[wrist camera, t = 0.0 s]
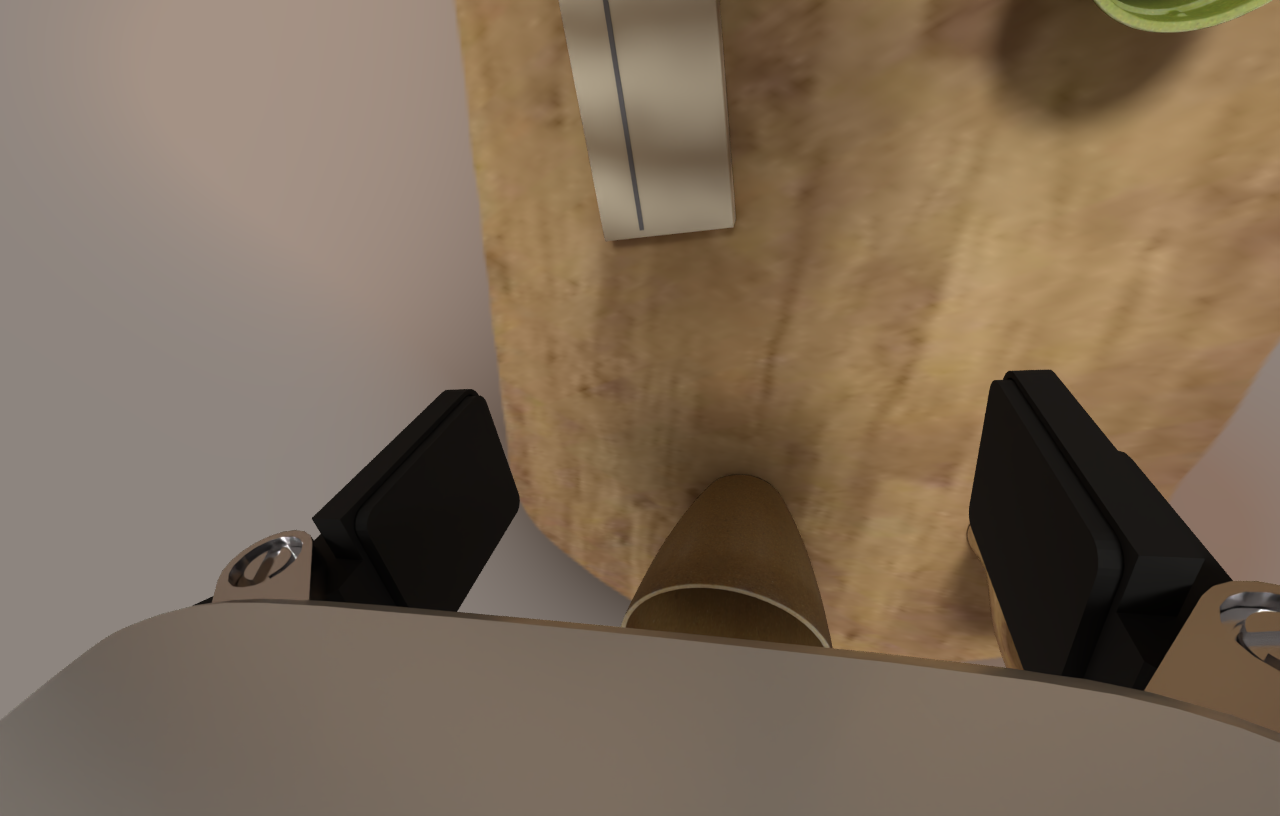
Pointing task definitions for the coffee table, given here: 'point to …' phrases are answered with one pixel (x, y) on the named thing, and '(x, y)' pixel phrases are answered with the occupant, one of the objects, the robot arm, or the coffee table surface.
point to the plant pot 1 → (733, 572)
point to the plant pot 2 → (1176, 13)
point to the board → (653, 113)
